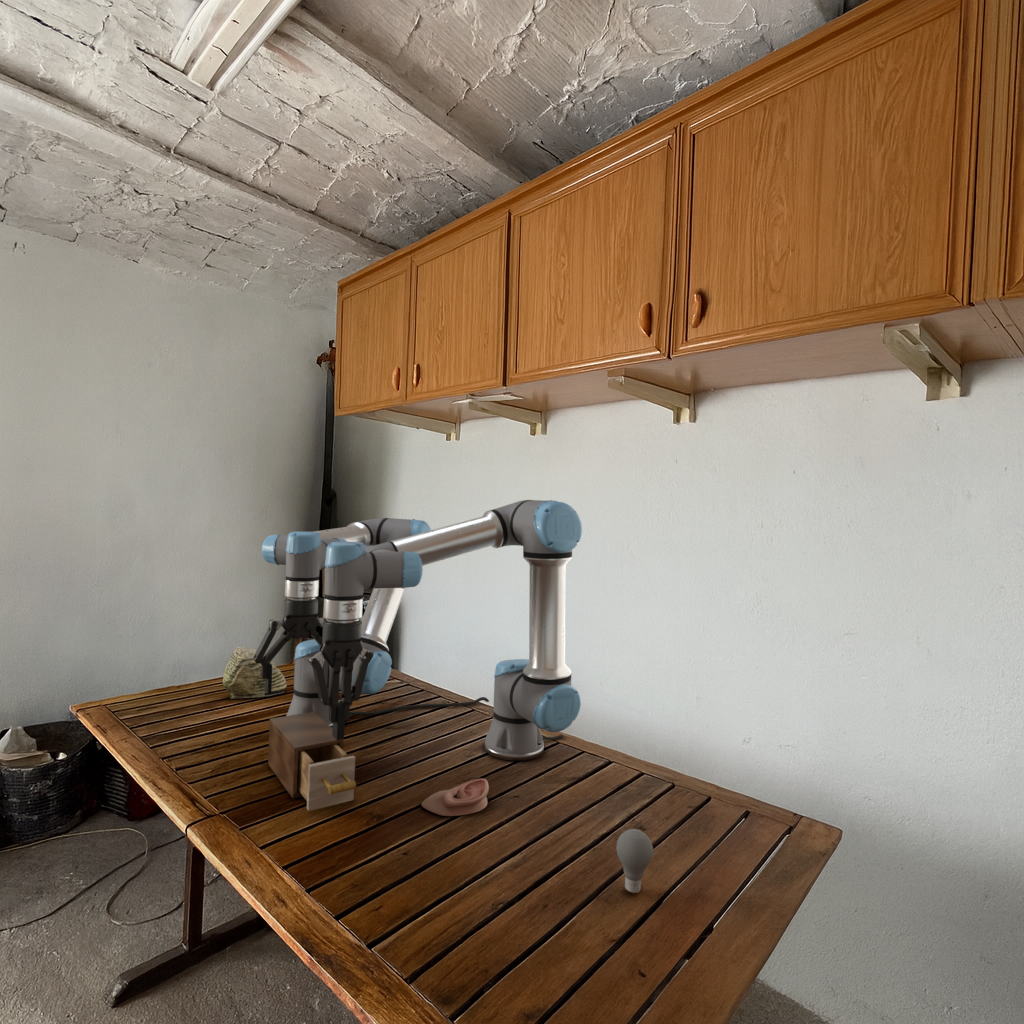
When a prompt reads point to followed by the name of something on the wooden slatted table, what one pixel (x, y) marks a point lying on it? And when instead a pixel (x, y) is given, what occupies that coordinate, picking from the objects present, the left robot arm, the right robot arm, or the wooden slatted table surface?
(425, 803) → the anatomical model
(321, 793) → the drawer
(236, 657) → the fossil
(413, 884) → the wooden slatted table surface
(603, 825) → the wooden slatted table surface
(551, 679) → the right robot arm
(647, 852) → the light bulb
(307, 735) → the cabinet
